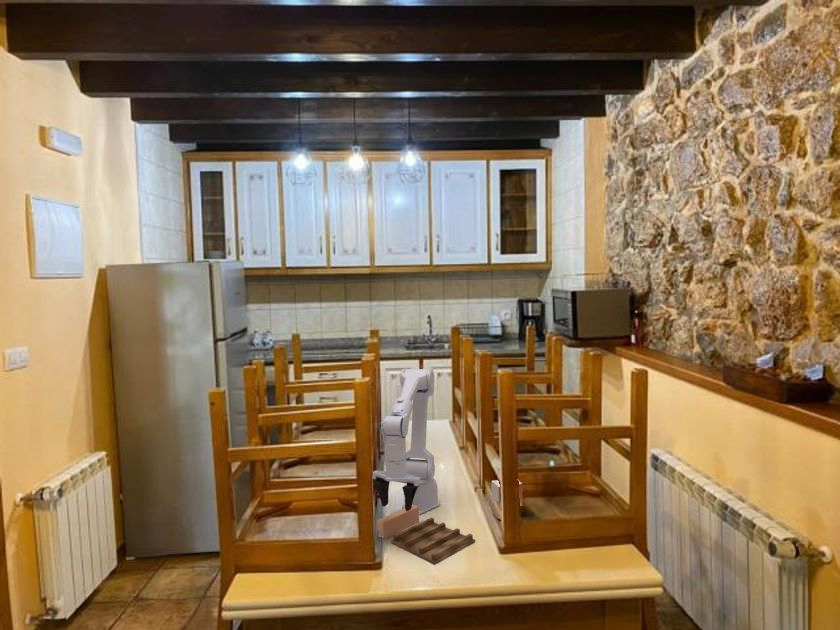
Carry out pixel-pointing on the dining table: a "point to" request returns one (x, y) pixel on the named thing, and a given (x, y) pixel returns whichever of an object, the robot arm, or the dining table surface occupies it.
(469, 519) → the dining table surface
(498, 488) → the small box
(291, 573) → the dining table surface
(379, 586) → the dining table surface
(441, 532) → the rack
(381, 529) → the clay block
